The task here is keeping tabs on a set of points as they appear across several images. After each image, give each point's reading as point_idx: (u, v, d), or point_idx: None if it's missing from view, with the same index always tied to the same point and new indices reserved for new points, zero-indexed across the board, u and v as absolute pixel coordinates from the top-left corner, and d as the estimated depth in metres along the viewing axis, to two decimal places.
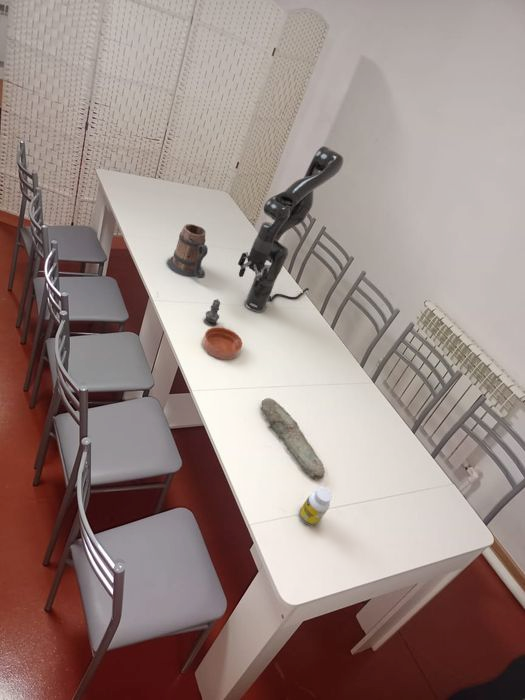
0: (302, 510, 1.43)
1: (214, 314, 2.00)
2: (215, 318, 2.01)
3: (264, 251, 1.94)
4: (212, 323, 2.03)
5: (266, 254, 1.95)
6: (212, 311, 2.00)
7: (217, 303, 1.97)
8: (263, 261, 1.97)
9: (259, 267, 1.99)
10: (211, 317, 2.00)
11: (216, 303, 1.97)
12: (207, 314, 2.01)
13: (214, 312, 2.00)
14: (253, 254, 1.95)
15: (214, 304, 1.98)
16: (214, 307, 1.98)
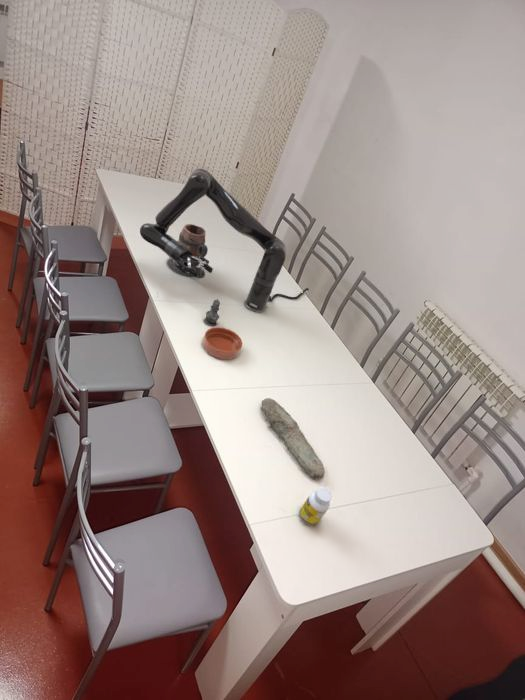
0: (302, 510, 1.43)
1: (214, 314, 2.00)
2: (215, 318, 2.01)
3: (170, 257, 2.02)
4: (212, 323, 2.03)
5: (172, 256, 2.00)
6: (212, 311, 2.00)
7: (217, 303, 1.97)
8: None
9: None
10: (211, 317, 2.00)
11: (216, 303, 1.97)
12: (207, 314, 2.01)
13: (214, 312, 2.00)
14: None
15: (214, 304, 1.98)
16: (214, 307, 1.98)
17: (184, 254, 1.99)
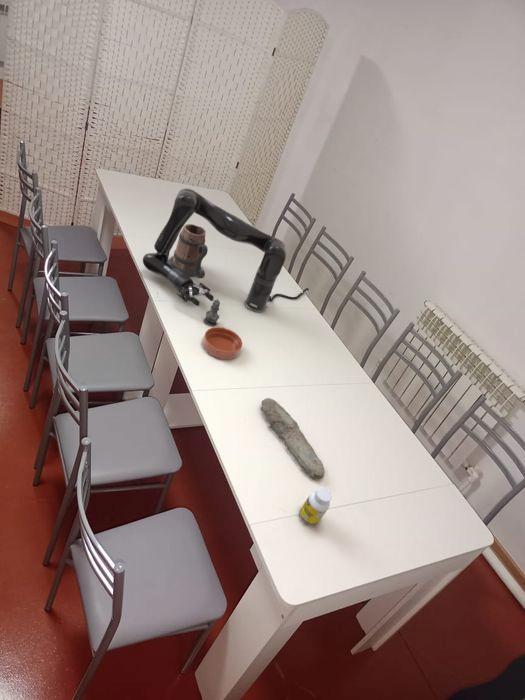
0: (302, 510, 1.43)
1: (214, 314, 2.00)
2: (215, 318, 2.01)
3: None
4: (212, 323, 2.03)
5: (174, 285, 2.06)
6: (212, 311, 2.00)
7: (217, 303, 1.97)
8: (179, 289, 2.04)
9: None
10: (211, 317, 2.00)
11: (216, 303, 1.97)
12: (207, 314, 2.01)
13: (214, 312, 2.00)
14: None
15: (214, 304, 1.98)
16: (214, 307, 1.98)
17: (186, 283, 2.05)
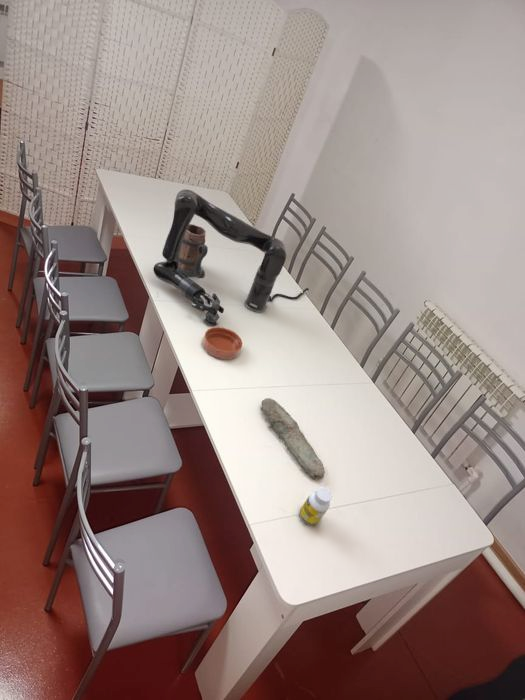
0: (302, 510, 1.43)
1: None
2: (215, 318, 2.01)
3: (184, 295, 2.05)
4: (212, 323, 2.03)
5: (185, 294, 2.03)
6: None
7: (217, 303, 1.97)
8: (191, 298, 2.02)
9: None
10: (211, 317, 2.00)
11: (216, 303, 1.97)
12: (207, 314, 2.01)
13: None
14: None
15: (214, 304, 1.98)
16: (214, 307, 1.98)
17: (198, 293, 2.02)
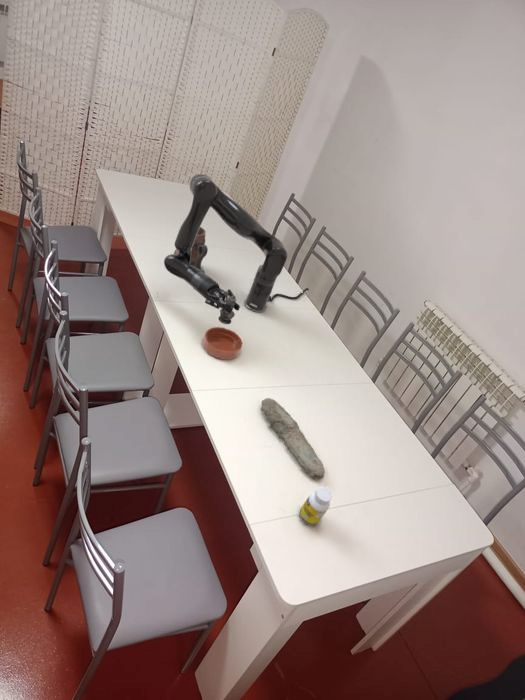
0: (302, 510, 1.43)
1: None
2: (230, 316, 1.87)
3: (196, 290, 1.90)
4: (227, 321, 1.89)
5: (198, 289, 1.89)
6: None
7: (233, 300, 1.83)
8: (204, 294, 1.87)
9: None
10: (226, 315, 1.86)
11: (232, 300, 1.83)
12: (222, 311, 1.87)
13: None
14: None
15: (229, 301, 1.83)
16: (229, 304, 1.84)
17: (212, 288, 1.88)
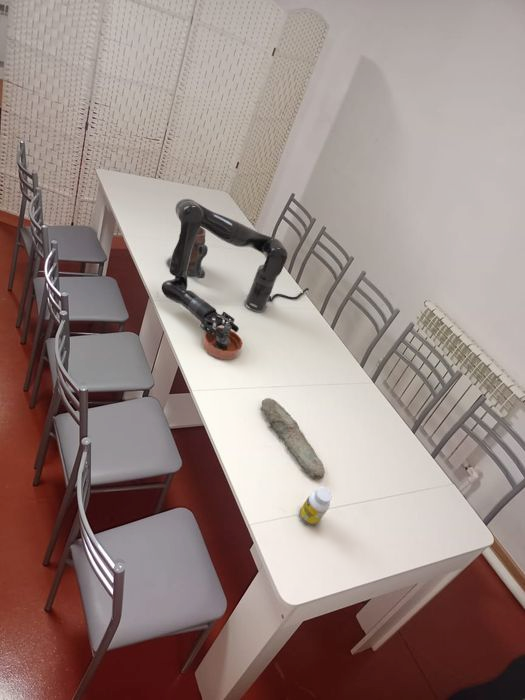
0: (302, 510, 1.43)
1: (225, 338, 1.89)
2: (226, 342, 1.90)
3: (194, 315, 1.93)
4: (223, 347, 1.92)
5: (196, 315, 1.91)
6: None
7: (228, 327, 1.86)
8: (201, 319, 1.90)
9: None
10: (222, 341, 1.89)
11: (227, 327, 1.86)
12: (217, 338, 1.90)
13: (225, 336, 1.89)
14: None
15: (225, 328, 1.87)
16: (225, 331, 1.87)
17: (209, 313, 1.90)
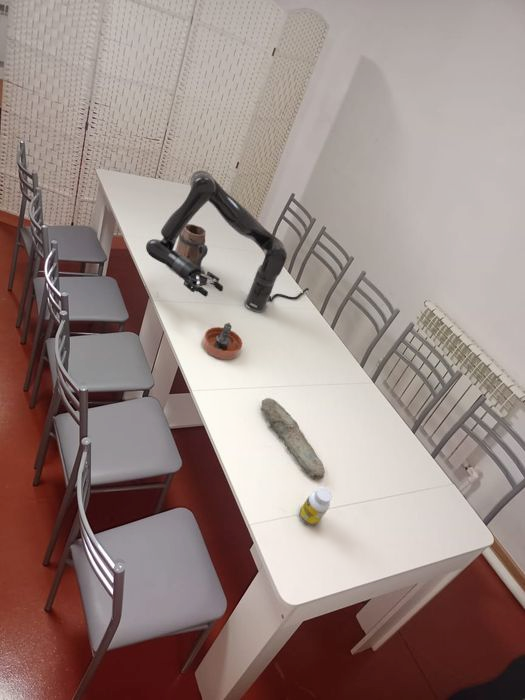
0: (302, 510, 1.43)
1: (225, 338, 1.89)
2: (226, 342, 1.90)
3: (178, 275, 1.91)
4: (223, 347, 1.92)
5: (180, 274, 1.89)
6: (223, 335, 1.89)
7: (228, 327, 1.86)
8: None
9: None
10: (222, 341, 1.89)
11: (227, 327, 1.86)
12: (217, 338, 1.90)
13: (225, 336, 1.89)
14: None
15: (225, 328, 1.87)
16: (225, 331, 1.87)
17: (193, 272, 1.88)
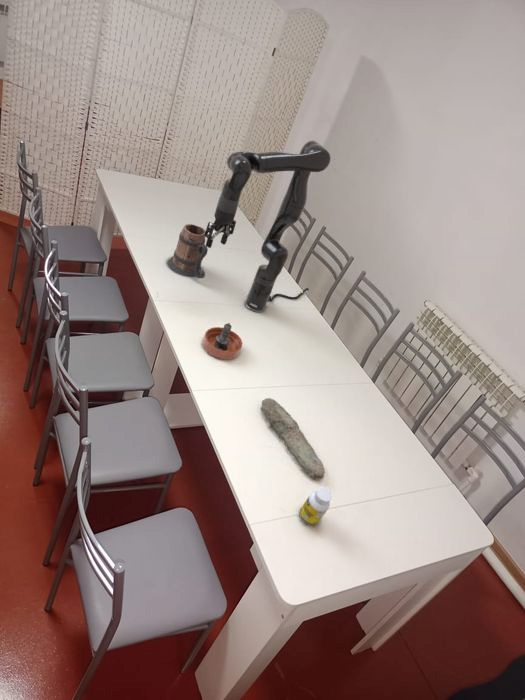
0: (302, 510, 1.43)
1: (225, 338, 1.89)
2: (226, 342, 1.90)
3: (217, 204, 1.82)
4: (223, 347, 1.92)
5: (218, 209, 1.81)
6: (223, 335, 1.89)
7: (228, 327, 1.86)
8: (216, 217, 1.83)
9: None
10: (222, 341, 1.89)
11: (227, 327, 1.86)
12: (217, 338, 1.90)
13: (225, 336, 1.89)
14: None
15: (225, 328, 1.87)
16: (225, 331, 1.87)
17: None
